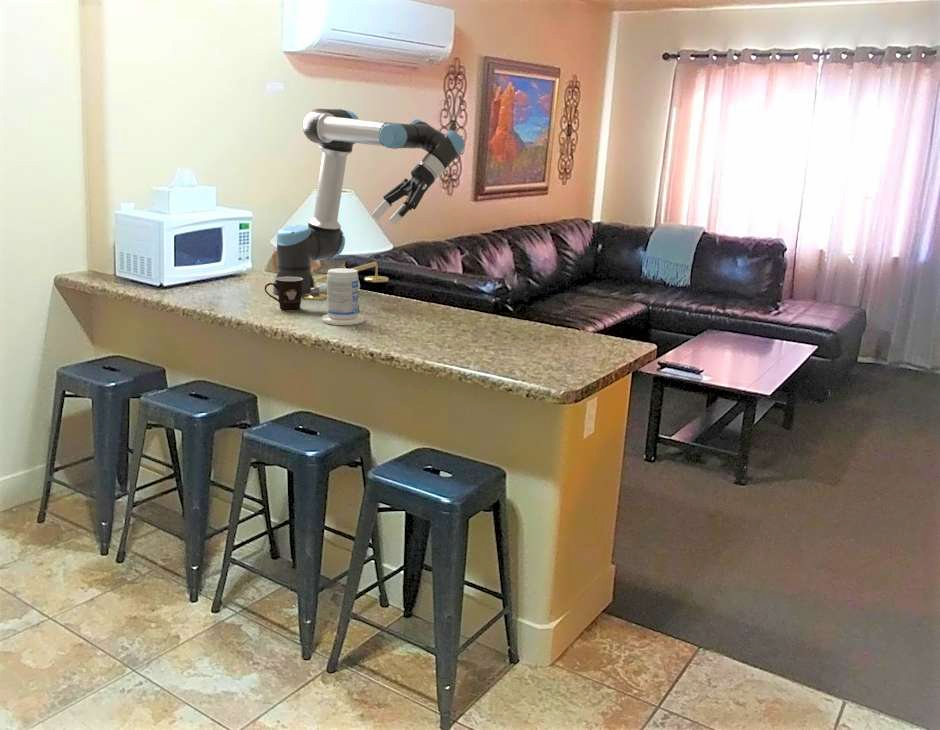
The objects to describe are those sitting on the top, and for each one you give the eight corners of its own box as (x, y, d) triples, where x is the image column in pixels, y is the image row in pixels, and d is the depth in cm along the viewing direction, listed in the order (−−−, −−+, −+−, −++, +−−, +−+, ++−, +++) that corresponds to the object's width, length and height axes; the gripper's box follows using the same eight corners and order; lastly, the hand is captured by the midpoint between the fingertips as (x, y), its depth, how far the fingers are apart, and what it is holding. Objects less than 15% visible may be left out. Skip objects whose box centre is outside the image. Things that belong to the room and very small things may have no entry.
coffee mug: (306, 307, 297) (306, 277, 294) (299, 312, 288) (298, 281, 286) (272, 305, 298) (271, 275, 295) (264, 310, 289) (263, 279, 287)
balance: (299, 310, 291) (298, 263, 287) (382, 304, 306) (382, 259, 302) (307, 315, 285) (306, 267, 281) (392, 308, 299) (392, 263, 295)
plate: (315, 318, 280) (315, 314, 280) (354, 315, 287) (354, 311, 286) (330, 327, 269) (330, 323, 269) (370, 323, 276) (370, 320, 275)
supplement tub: (359, 320, 275) (359, 272, 271) (328, 320, 272) (328, 272, 269) (356, 313, 284) (356, 267, 280) (326, 314, 282) (326, 267, 278)
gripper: (452, 183, 275) (407, 233, 272) (417, 177, 296) (374, 223, 293) (438, 165, 271) (391, 216, 268) (403, 160, 292) (359, 207, 289)
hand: (382, 220), depth 280 cm, fingers open, 13 cm apart
